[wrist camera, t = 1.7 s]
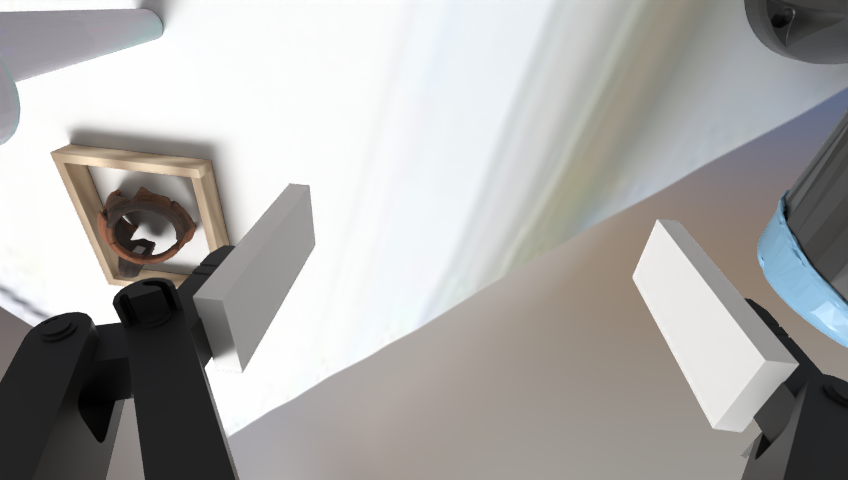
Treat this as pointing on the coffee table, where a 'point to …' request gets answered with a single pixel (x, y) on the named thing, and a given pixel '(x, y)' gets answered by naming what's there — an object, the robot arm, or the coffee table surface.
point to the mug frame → (201, 172)
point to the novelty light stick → (61, 46)
